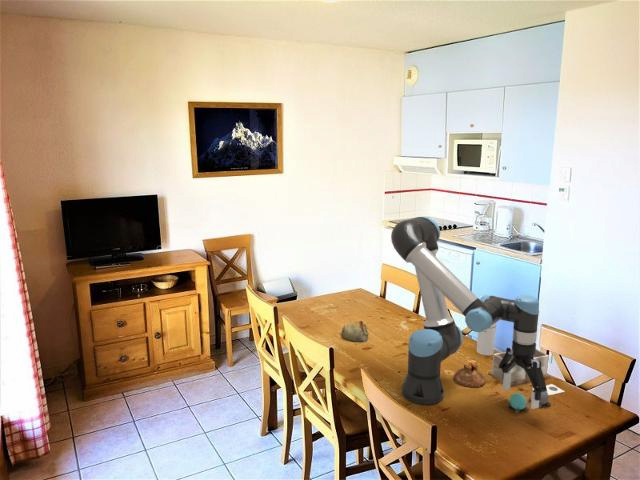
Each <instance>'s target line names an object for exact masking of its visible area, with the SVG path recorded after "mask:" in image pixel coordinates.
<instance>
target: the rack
mask: <svg viewBox="0 0 640 480" xmlns="http://www.w3.org/2000/svg"><path fill="white" fill-rule="evenodd" d="M505 353H506V351H504V352H497V353H493V355H492V367H491V370H490V371H488V376H491V377H492V378H494V379H495V380H497V381H498V382H499V383H501V384H502V385H503V371H502V369H501V368H499V364H500V362H501V361H502V359H503V357H504V355H505ZM513 358H514V356H512V357H511V359H510V361H509V363H510V362H511V360H512V359H513ZM533 358H534V360H535V361H541V369H542V373H543V377H544V380H547V379H550V378H551V375H550V374H548V367H549V358H550V355H549V354H547V353H545V352H542V350H539V349H537V348H536V352H535V354H534V356H533ZM529 368H531V367H529ZM529 368H528V369H529ZM508 372H511V383H510V387H513V386H518V385H519V386H520V385H523V384H527V383H528V384H529V383H531V381H530V379H529V377H528V374H527V372H525V370H524V369H523V368H521V367H520V366H518V365H516V366H514V367H513V368H512V369H511V371H508Z"/></svg>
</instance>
